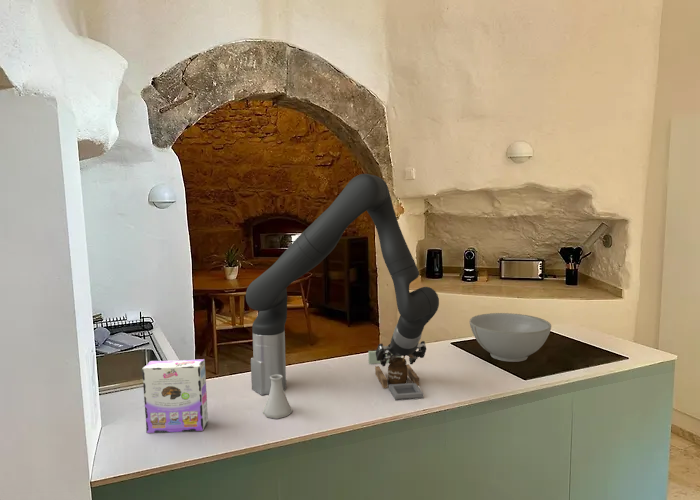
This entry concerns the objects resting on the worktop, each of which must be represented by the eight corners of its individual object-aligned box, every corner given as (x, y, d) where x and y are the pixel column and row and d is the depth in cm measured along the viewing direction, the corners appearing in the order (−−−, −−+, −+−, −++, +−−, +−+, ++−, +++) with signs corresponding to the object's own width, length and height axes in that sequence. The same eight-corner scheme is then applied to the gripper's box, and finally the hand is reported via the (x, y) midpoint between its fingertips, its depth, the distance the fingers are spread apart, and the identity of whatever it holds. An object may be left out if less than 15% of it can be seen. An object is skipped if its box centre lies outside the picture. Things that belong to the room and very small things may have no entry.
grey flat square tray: (423, 398, 141) (423, 393, 140) (395, 400, 139) (395, 395, 139) (415, 387, 148) (415, 382, 148) (388, 389, 147) (388, 384, 147)
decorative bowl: (453, 355, 177) (453, 321, 176) (497, 340, 194) (498, 309, 193) (522, 375, 157) (523, 337, 155) (565, 357, 174) (566, 322, 172)
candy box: (209, 421, 128) (206, 358, 127) (203, 432, 122) (199, 366, 121) (153, 422, 128) (150, 359, 126) (145, 433, 122) (141, 367, 120)
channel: (419, 385, 150) (419, 377, 149) (383, 388, 148) (383, 380, 148) (408, 371, 161) (408, 364, 161) (375, 374, 160) (375, 366, 160)
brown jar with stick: (393, 377, 157) (393, 339, 156) (411, 381, 153) (411, 342, 152) (384, 383, 152) (383, 344, 151) (402, 387, 149) (402, 347, 147)
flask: (278, 405, 137) (277, 369, 136) (297, 412, 133) (296, 375, 132) (257, 414, 132) (256, 377, 131) (276, 422, 127) (275, 383, 126)
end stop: (401, 362, 171) (401, 350, 170) (369, 364, 169) (369, 352, 169) (400, 360, 172) (400, 349, 172) (368, 362, 171) (368, 351, 170)
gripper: (428, 323, 144) (417, 350, 157) (379, 325, 142) (372, 352, 155) (434, 346, 140) (422, 372, 152) (383, 349, 138) (375, 375, 150)
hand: (396, 362), depth 153 cm, fingers open, 8 cm apart
